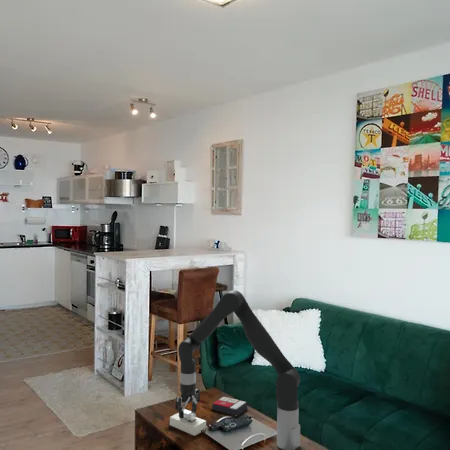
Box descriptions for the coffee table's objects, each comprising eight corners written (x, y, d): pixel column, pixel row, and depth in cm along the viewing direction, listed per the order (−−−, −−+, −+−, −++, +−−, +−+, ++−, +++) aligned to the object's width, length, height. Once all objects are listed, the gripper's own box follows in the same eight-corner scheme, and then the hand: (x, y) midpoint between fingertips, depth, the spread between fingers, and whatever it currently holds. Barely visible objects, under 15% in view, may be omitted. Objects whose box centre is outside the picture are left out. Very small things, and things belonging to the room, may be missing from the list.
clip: (195, 427, 216) (195, 413, 215) (191, 430, 213) (191, 415, 213) (184, 423, 220) (184, 409, 220) (180, 425, 218) (180, 411, 218)
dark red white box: (223, 395, 245) (247, 400, 237) (223, 403, 245) (247, 409, 237) (211, 402, 236) (236, 408, 228) (211, 411, 236) (236, 417, 228)
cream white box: (206, 429, 215) (206, 420, 215) (194, 435, 209) (194, 427, 208) (181, 419, 225) (181, 411, 225) (169, 425, 219) (169, 416, 219)
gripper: (183, 387, 208) (183, 422, 209) (204, 378, 219) (203, 412, 220) (171, 383, 213) (171, 417, 213) (192, 375, 224) (192, 407, 224)
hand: (187, 414), depth 217 cm, fingers open, 8 cm apart
